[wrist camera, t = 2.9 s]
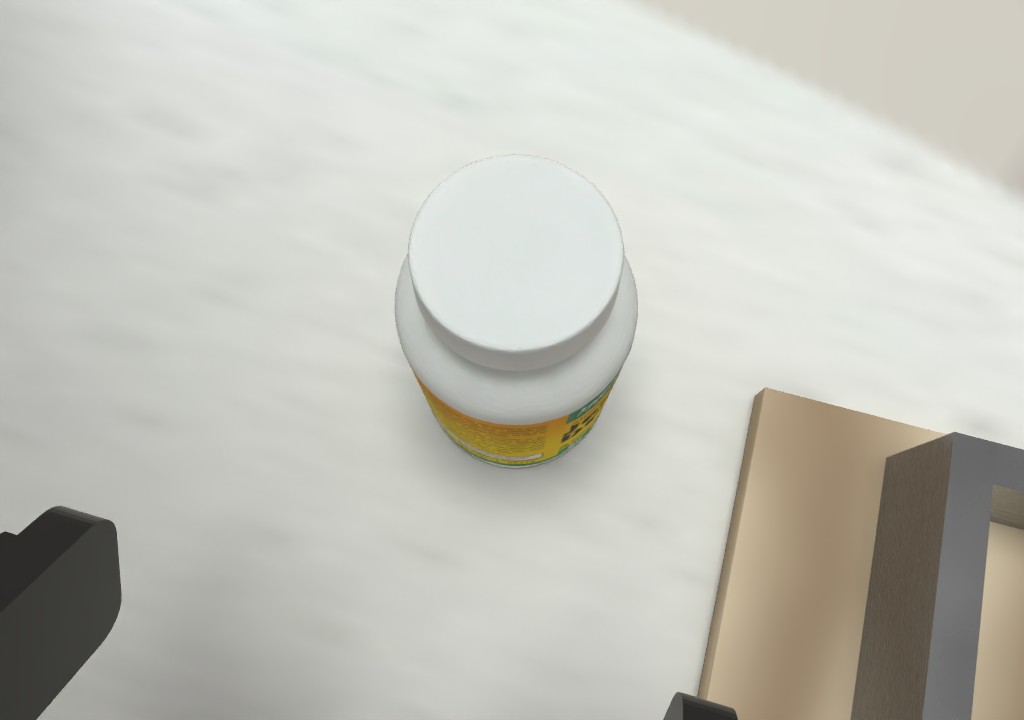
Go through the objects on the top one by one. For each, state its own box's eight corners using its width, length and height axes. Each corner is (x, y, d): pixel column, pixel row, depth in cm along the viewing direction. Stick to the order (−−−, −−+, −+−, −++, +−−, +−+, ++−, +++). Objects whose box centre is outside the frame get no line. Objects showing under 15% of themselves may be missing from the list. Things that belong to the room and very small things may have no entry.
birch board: (679, 793, 20) (687, 802, 19) (755, 396, 23) (765, 387, 22) (1327, 991, 19) (1371, 1012, 18) (1316, 542, 22) (1352, 539, 21)
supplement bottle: (461, 278, 24) (429, 86, 15) (626, 328, 24) (695, 160, 15) (401, 439, 23) (324, 333, 14) (575, 496, 22) (618, 426, 13)
